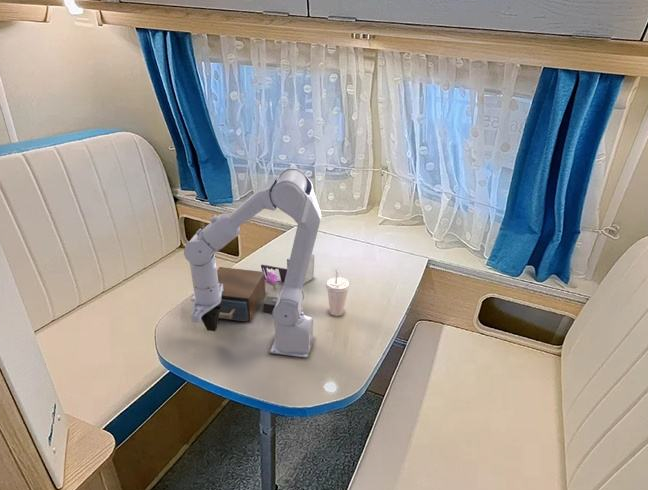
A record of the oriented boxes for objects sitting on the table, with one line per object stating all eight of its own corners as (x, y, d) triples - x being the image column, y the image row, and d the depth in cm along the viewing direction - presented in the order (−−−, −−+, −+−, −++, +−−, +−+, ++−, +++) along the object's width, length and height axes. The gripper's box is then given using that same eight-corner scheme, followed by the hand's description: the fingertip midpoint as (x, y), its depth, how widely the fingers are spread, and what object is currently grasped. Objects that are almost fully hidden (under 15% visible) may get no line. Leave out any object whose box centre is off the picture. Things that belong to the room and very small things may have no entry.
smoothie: (321, 308, 124) (323, 265, 116) (342, 303, 126) (344, 261, 118) (330, 320, 119) (332, 276, 111) (351, 315, 121) (354, 272, 114)
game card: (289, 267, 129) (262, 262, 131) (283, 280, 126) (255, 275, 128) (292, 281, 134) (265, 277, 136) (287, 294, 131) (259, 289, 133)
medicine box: (304, 274, 140) (304, 250, 136) (314, 278, 138) (314, 254, 133) (286, 283, 135) (286, 258, 130) (297, 288, 133) (297, 263, 128)
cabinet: (250, 321, 117) (248, 298, 113) (202, 316, 118) (199, 292, 114) (265, 293, 129) (264, 271, 125) (222, 288, 130) (219, 266, 126)
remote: (267, 304, 124) (267, 295, 123) (294, 307, 124) (294, 298, 122) (263, 311, 121) (263, 303, 119) (291, 315, 120) (291, 306, 119)
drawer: (241, 330, 112) (240, 312, 109) (196, 324, 113) (193, 306, 110) (261, 295, 127) (260, 278, 124) (220, 290, 128) (218, 273, 125)
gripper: (202, 266, 107) (208, 311, 114) (175, 297, 95) (183, 345, 102) (229, 269, 106) (233, 314, 113) (205, 301, 94) (212, 349, 101)
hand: (211, 329), depth 108 cm, fingers closed
